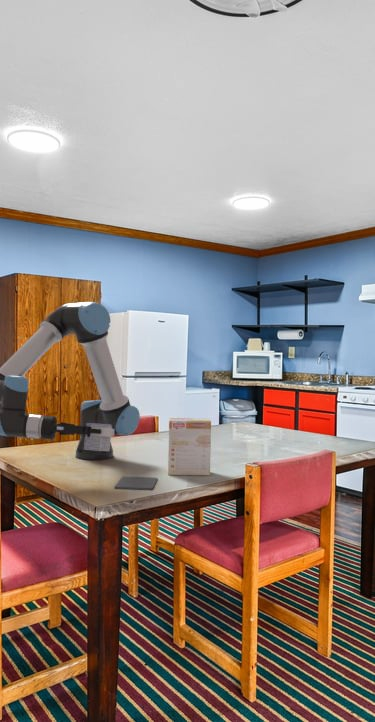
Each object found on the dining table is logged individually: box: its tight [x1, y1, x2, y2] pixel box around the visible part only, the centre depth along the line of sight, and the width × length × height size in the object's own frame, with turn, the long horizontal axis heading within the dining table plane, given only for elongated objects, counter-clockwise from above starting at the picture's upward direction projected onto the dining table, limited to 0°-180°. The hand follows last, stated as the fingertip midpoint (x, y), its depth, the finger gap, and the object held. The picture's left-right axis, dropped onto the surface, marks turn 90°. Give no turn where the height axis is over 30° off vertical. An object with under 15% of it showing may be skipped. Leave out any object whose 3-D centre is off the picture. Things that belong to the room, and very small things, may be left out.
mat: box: [114, 475, 159, 491], centre depth 172 cm, size 14×12×1 cm
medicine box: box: [84, 423, 112, 452], centre depth 170 cm, size 8×4×9 cm, turn 51°
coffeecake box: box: [167, 417, 212, 476], centre depth 189 cm, size 15×7×20 cm, turn 92°
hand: (113, 432), depth 171 cm, fingers closed on medicine box, 8 cm apart
